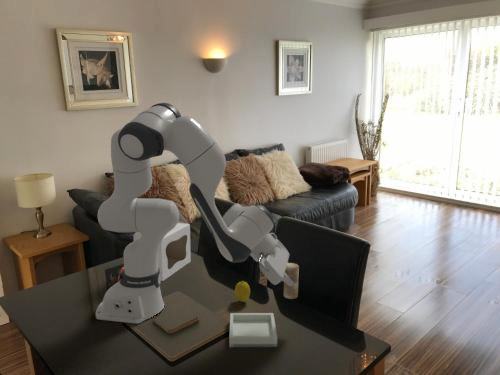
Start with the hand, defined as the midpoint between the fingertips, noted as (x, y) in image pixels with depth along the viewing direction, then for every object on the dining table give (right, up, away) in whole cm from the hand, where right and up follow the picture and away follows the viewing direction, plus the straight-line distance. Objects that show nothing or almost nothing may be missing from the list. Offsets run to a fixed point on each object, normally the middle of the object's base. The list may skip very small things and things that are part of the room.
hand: (293, 279), depth 127 cm
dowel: (-1, -5, +1) cm, 5 cm away
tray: (-13, -16, -1) cm, 21 cm away
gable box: (-50, -6, +46) cm, 68 cm away
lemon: (-16, -12, +19) cm, 28 cm away
